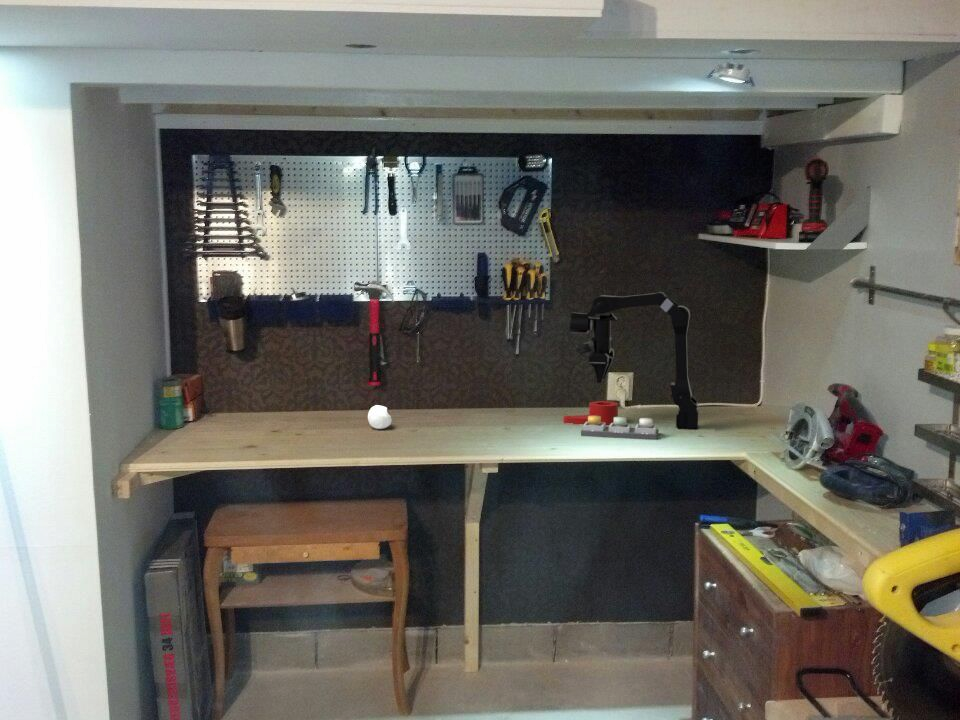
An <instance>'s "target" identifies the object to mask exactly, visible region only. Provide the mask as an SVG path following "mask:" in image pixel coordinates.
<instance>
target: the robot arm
mask: <svg viewBox="0 0 960 720" xmlns="http://www.w3.org/2000/svg"><path fill="white" fill-rule="evenodd" d="M655 305H657V306H658V307H660V308H661V309H662V310H663V311H664V312H665V313H666V314H668V315H669V316H670V320H671V325H672V328H673V333H674V339H675V340H674V341H675V342H674V343H675V344H674V345H675V346H674V347H675V349H674V350H675V382H673V381H672V382H671V384H670V389H671V395H670V398H672V401H673V403H674V404H675V405H676V406H677V407H678V412H677V413H676V417H675V423H676V424H675V427H676V429H678V430H686V431H687V430H689V431H691V430H693V431H698V430H699V409H698V406H699V402H698V400H697V399H696V398H695V397H694V396H693V393H692V387H691V383H690V380H689V379H690V378H689V376H688V375H689V372H688V330H689V324H690V323H689V322H690V318H691V312H690V309H689V308H688V307H686V306H685V305H679V304H678V303H677V302H675V301H674V300H672V299H671V298H670V297H669V296H668V295H666V293H664V292H663V291H657V292H652V293H646V294H645V293H644V294H635V295H625V296H619V295H605V294H603V295H598V296H597V297H595V298H594V299H593V301H592V307H591V308H590V310H588V312H586V313H585V312H584V313H583V312H571V317H570V323H569V331H570V333H571V334H589V331H592V337H591V338H590V341H587V342H583V341H581V342H578V343H577V345H576V346H575V352H576V353H577V356H578V357H580V356H582V355H585V354H586V353H589V352H590V354H589V355H588V357H587V359H588V360H587V362H588V363H589V365H591V366H592V367H593V369H594V373H595V378H596V382H597V384H601V383H602V381H603V380H605V379H606V377H607V374H608V372H609V370H610V367H611V364H612V362H613V361H614V357H615V349H614V348H612V347H611V342H612V334H611V333H612V332H611V331H612V321H616V320H617V319H618V318H617V316H616V315H614V313H613V311H617V310H620V309H626V308H637V307H644V306H655ZM610 312H611V313H610ZM606 313H609V314H606ZM597 315H599V317H595V316H597Z"/></svg>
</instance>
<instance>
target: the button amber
mask: <svg viewBox="0 0 960 720" xmlns="http://www.w3.org/2000/svg"><path fill="white" fill-rule="evenodd" d="M588 423H589V424H601V416H588Z"/></svg>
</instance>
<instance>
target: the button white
mask: <svg viewBox="0 0 960 720" xmlns="http://www.w3.org/2000/svg"><path fill="white" fill-rule="evenodd" d="M638 424H639V426H642V427H651V426H653V425H654V422H653V418H649V417H641V418H639V423H638Z"/></svg>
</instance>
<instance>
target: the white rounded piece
mask: <svg viewBox="0 0 960 720" xmlns="http://www.w3.org/2000/svg"><path fill="white" fill-rule="evenodd" d="M367 421H368V423H369V425H370V426H371V427H372V428H373V429H377V430H385V429H386V428H388V427H390V425H391V423H392V416H391V415H390V414H389V412H388V407H387V406H384V405H379V404H375V405H374V406H372V407H371V408H370V409H369V411H368V412H367Z"/></svg>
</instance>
